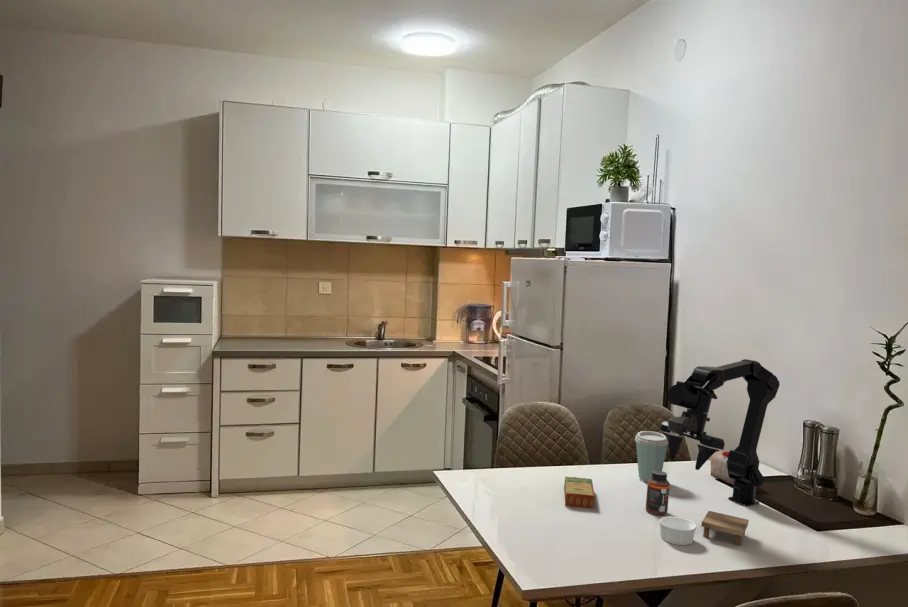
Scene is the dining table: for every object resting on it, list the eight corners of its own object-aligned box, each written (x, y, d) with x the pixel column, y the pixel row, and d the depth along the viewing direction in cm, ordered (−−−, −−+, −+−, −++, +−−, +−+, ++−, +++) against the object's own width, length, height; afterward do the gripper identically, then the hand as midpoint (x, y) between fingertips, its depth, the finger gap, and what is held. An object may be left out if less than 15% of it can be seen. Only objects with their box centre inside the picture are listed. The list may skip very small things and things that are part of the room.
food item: (705, 474, 232) (707, 446, 231) (724, 473, 235) (727, 445, 234) (733, 487, 219) (735, 457, 218) (753, 486, 222) (756, 457, 221)
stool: (707, 525, 185) (708, 510, 184) (747, 534, 180) (748, 519, 179) (700, 536, 176) (701, 521, 176) (741, 547, 171) (743, 531, 171)
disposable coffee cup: (669, 486, 216) (673, 439, 215) (635, 484, 216) (639, 437, 215) (660, 475, 227) (663, 431, 226) (627, 473, 227) (631, 429, 226)
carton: (564, 507, 193) (565, 492, 192) (563, 488, 209) (564, 475, 208) (594, 510, 191) (595, 495, 191) (591, 491, 207) (592, 477, 207)
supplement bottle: (668, 517, 189) (671, 477, 188) (646, 514, 190) (649, 474, 189) (666, 509, 195) (669, 470, 194) (644, 506, 196) (647, 468, 195)
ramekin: (690, 549, 168) (691, 532, 167) (654, 540, 172) (655, 523, 172) (698, 538, 175) (699, 522, 175) (663, 529, 180) (664, 513, 180)
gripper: (653, 399, 197) (640, 451, 197) (704, 413, 181) (690, 471, 180) (679, 405, 203) (666, 457, 202) (731, 420, 186) (718, 476, 186)
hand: (684, 464), depth 192 cm, fingers open, 9 cm apart
